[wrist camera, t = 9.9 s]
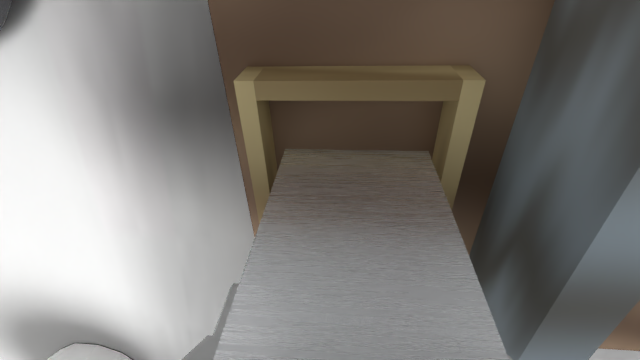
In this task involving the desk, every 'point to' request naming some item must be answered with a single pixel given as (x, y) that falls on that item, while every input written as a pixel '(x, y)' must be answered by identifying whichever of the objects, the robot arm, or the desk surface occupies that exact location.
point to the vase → (87, 353)
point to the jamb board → (470, 136)
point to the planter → (4, 11)
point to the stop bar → (358, 267)
